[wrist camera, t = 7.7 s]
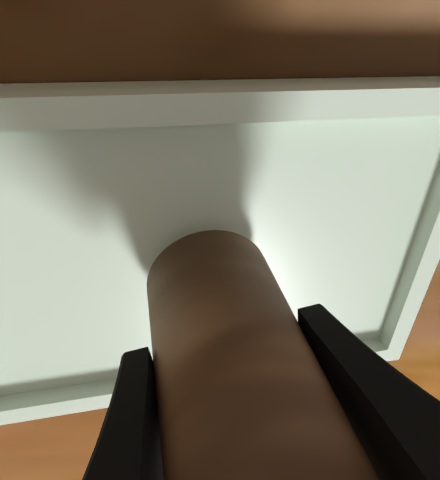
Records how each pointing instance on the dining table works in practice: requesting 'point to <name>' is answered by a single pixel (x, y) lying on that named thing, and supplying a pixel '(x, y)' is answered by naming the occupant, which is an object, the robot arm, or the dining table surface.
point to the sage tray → (204, 211)
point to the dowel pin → (239, 372)
